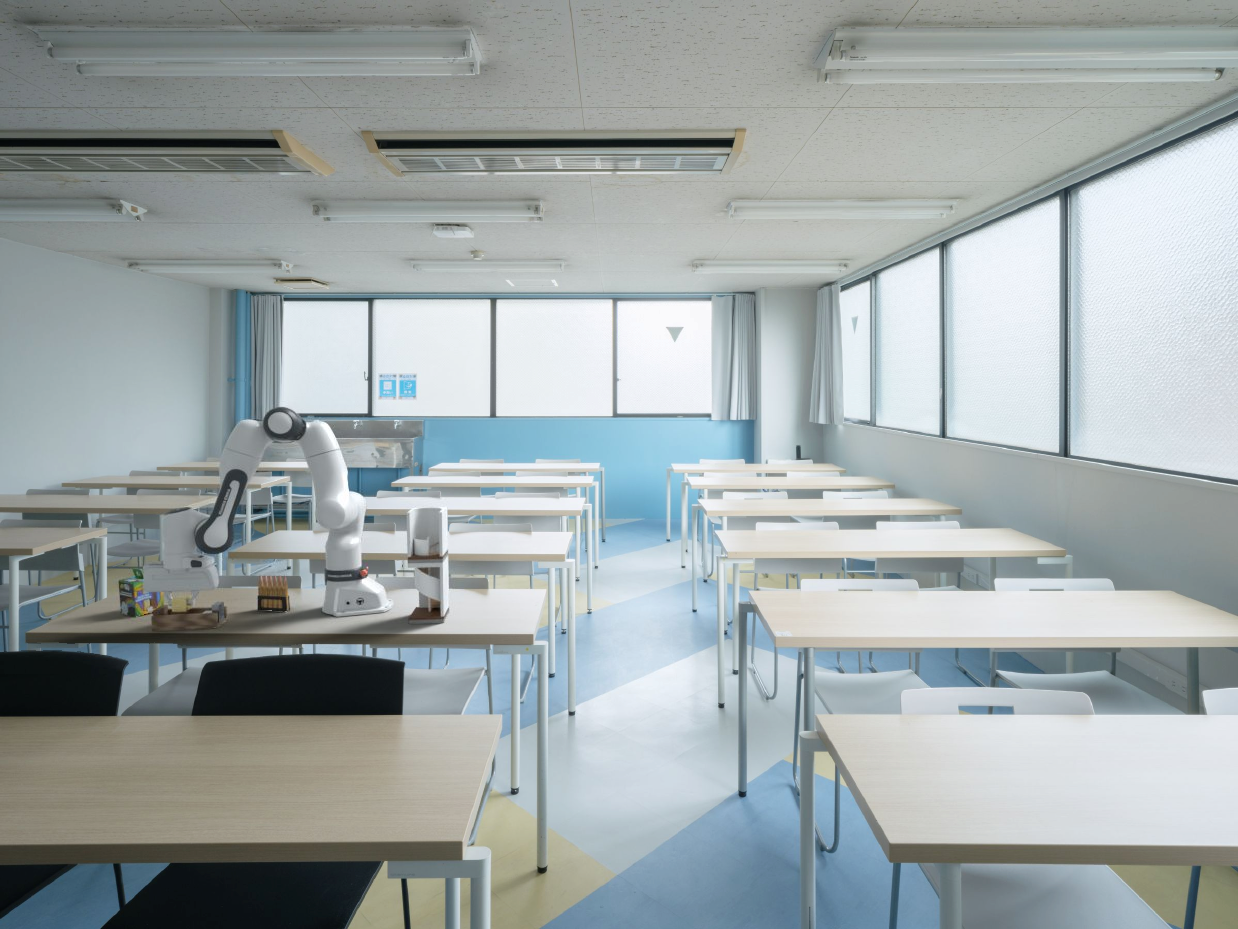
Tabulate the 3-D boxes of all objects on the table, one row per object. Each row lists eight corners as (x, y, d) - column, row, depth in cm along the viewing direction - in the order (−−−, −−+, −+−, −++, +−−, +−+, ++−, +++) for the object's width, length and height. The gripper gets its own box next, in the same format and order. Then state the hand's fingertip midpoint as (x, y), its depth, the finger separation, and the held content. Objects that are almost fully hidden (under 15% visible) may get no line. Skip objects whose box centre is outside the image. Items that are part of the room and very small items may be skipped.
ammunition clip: (290, 610, 226) (289, 575, 225) (286, 612, 225) (285, 576, 224) (261, 609, 228) (259, 573, 227) (257, 610, 226) (255, 575, 225)
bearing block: (227, 620, 216) (226, 601, 215) (216, 628, 208) (216, 608, 207) (165, 623, 213) (164, 604, 212) (152, 631, 205) (150, 611, 204)
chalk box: (165, 610, 226) (163, 566, 225) (135, 618, 218) (132, 572, 217) (149, 606, 230) (147, 563, 229) (119, 614, 222) (116, 569, 221)
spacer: (186, 611, 208) (185, 598, 208) (172, 612, 207) (171, 599, 207) (192, 607, 212) (191, 595, 212) (178, 608, 211) (177, 595, 211)
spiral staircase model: (416, 613, 223) (413, 507, 221) (449, 612, 224) (447, 507, 222) (409, 623, 212) (406, 512, 209) (443, 622, 213) (441, 512, 210)
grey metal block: (224, 618, 213) (223, 601, 213) (219, 622, 210) (218, 605, 209) (207, 619, 213) (206, 602, 212) (201, 623, 209) (200, 605, 208)
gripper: (137, 563, 204) (139, 609, 205) (211, 562, 207) (213, 606, 208) (148, 559, 210) (150, 603, 211) (219, 557, 213) (221, 601, 214)
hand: (182, 605), depth 209 cm, fingers closed on spacer, 4 cm apart
